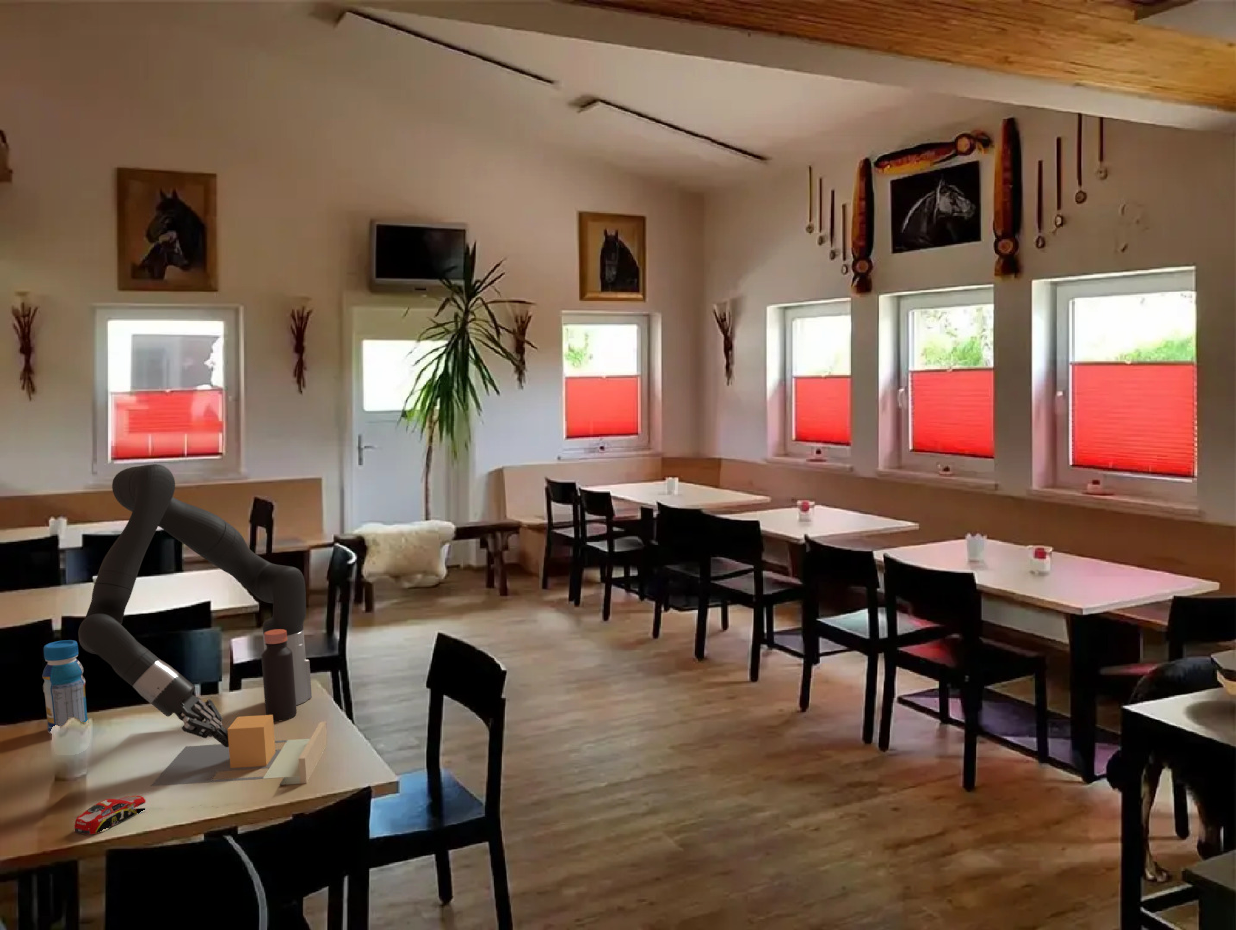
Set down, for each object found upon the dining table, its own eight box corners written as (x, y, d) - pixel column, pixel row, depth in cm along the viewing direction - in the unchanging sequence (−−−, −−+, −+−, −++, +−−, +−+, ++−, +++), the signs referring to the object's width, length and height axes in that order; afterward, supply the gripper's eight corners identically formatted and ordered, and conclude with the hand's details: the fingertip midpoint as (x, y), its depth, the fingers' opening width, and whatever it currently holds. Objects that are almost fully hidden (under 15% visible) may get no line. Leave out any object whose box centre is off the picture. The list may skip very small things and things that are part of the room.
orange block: (230, 768, 203) (227, 729, 202) (240, 754, 209) (237, 716, 209) (266, 765, 203) (263, 727, 202) (275, 752, 210) (272, 714, 209)
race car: (133, 804, 192) (131, 784, 191) (153, 809, 189) (152, 788, 189) (69, 835, 180) (67, 813, 179) (90, 840, 177) (88, 818, 177)
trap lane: (151, 793, 195) (148, 768, 195) (186, 753, 215) (184, 730, 215) (306, 783, 198) (304, 758, 197) (327, 744, 217) (325, 721, 217)
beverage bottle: (71, 737, 227) (63, 649, 225) (38, 735, 229) (29, 648, 227) (97, 723, 235) (89, 639, 233) (65, 722, 237) (57, 638, 235)
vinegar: (266, 713, 238) (260, 630, 236) (296, 709, 240) (291, 626, 238) (265, 723, 232) (259, 637, 230) (296, 719, 234) (290, 634, 232)
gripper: (164, 684, 197) (234, 741, 199) (188, 664, 210) (253, 718, 212) (138, 712, 197) (208, 769, 199) (163, 690, 210) (229, 744, 212)
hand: (231, 742), depth 206 cm, fingers closed
